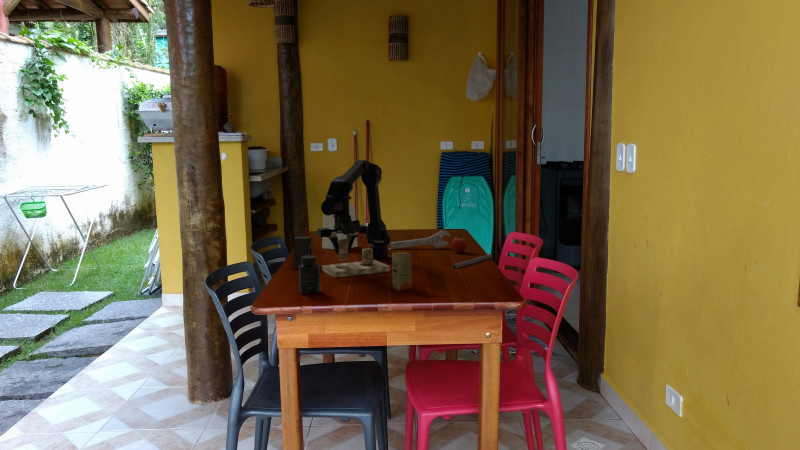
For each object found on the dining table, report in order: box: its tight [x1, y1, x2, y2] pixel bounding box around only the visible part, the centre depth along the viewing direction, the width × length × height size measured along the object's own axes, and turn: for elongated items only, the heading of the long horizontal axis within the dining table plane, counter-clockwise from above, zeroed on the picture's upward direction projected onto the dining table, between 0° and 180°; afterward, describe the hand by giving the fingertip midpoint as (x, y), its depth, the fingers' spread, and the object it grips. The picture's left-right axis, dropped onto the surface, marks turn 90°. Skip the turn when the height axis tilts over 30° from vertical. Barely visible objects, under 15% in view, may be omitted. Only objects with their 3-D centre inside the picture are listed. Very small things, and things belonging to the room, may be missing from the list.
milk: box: [321, 201, 358, 250], centre depth 290 cm, size 12×12×26 cm
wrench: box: [387, 230, 451, 250], centre depth 285 cm, size 8×2×30 cm
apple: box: [450, 229, 468, 254], centre depth 272 cm, size 8×7×10 cm
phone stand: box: [292, 236, 314, 270], centre depth 246 cm, size 9×6×12 cm, turn 174°
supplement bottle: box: [298, 255, 321, 296], centre depth 204 cm, size 7×7×12 cm
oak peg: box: [337, 238, 350, 262], centre depth 234 cm, size 4×4×8 cm
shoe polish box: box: [391, 250, 413, 291], centre depth 208 cm, size 5×5×12 cm
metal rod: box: [451, 253, 494, 270], centre depth 250 cm, size 2×27×2 cm, turn 141°
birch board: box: [321, 259, 390, 278], centre depth 238 cm, size 22×14×2 cm, turn 116°
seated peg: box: [361, 247, 374, 266], centre depth 239 cm, size 4×4×8 cm
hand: (343, 253), depth 235 cm, fingers closed on oak peg, 4 cm apart
